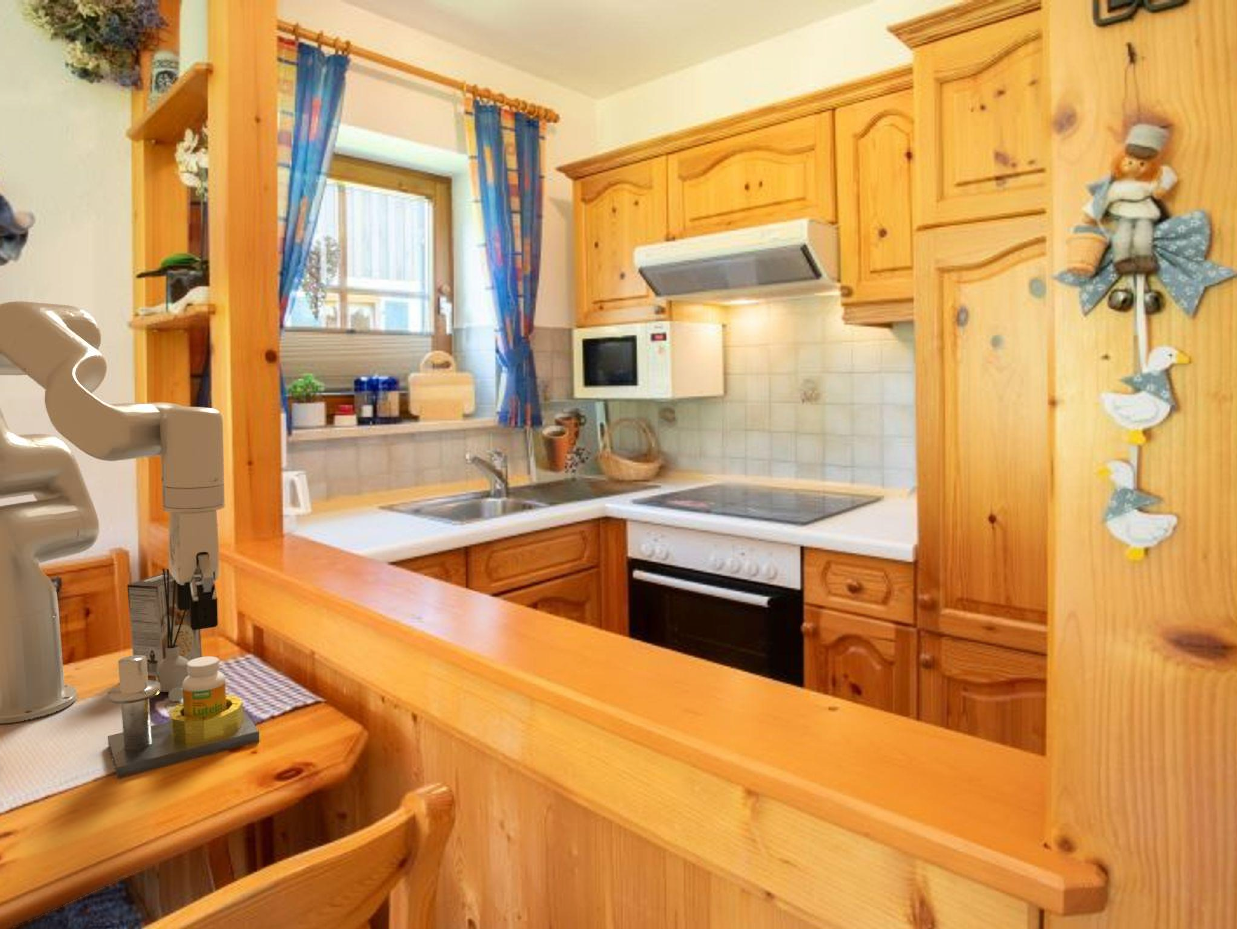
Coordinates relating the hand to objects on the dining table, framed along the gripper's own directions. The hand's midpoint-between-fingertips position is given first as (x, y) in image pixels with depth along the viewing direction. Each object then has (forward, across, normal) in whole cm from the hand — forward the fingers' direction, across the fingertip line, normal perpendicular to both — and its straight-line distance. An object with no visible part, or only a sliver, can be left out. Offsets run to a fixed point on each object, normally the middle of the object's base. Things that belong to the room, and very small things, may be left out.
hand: (197, 617), depth 110 cm
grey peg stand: (+18, +1, -2) cm, 18 cm away
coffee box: (+19, -33, +1) cm, 38 cm away
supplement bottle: (+16, +1, +1) cm, 16 cm away
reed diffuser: (+18, -20, +1) cm, 27 cm away
